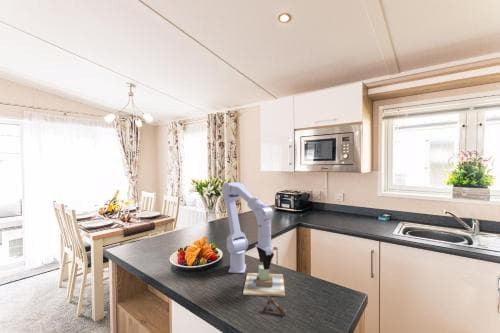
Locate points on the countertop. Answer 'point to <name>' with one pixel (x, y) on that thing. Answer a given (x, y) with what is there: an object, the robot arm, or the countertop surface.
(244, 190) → the robot arm
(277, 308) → the brown triangle frame
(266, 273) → the green block
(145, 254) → the countertop surface
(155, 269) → the countertop surface
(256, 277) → the build board
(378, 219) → the countertop surface
